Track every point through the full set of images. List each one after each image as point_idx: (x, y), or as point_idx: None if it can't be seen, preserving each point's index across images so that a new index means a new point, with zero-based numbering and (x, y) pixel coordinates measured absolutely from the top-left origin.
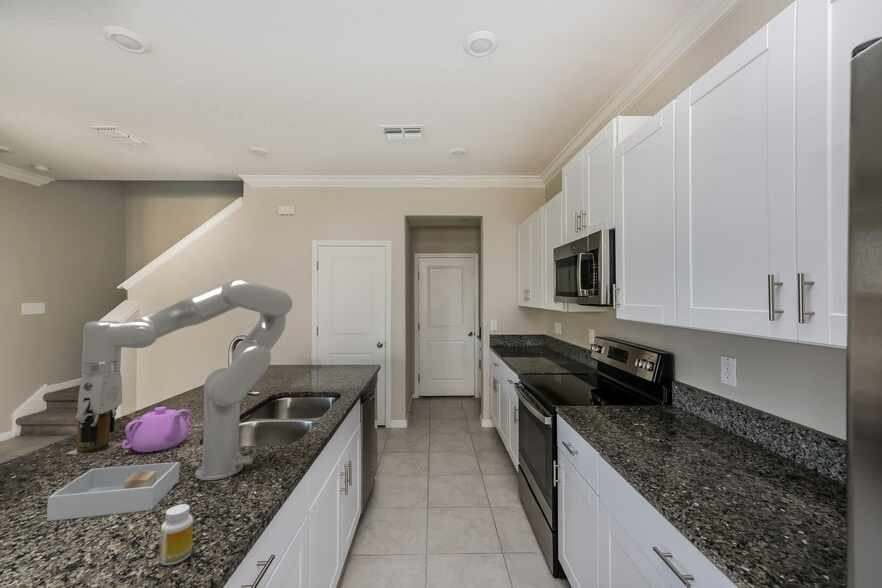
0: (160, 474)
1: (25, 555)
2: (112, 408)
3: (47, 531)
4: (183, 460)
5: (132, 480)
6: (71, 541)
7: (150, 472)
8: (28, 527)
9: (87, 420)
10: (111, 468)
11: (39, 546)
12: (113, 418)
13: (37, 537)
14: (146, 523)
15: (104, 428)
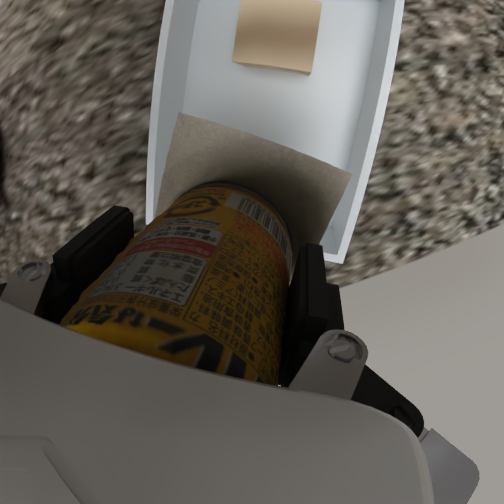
0: (188, 9)
1: (472, 215)
2: (95, 345)
3: (393, 211)
4: (51, 31)
5: (314, 47)
6: (466, 148)
7: (252, 7)
8: (348, 256)
9: (416, 417)
10: (155, 164)
11: (453, 203)
12: (72, 255)
13: (411, 221)
14: (453, 9)
15: (230, 253)
